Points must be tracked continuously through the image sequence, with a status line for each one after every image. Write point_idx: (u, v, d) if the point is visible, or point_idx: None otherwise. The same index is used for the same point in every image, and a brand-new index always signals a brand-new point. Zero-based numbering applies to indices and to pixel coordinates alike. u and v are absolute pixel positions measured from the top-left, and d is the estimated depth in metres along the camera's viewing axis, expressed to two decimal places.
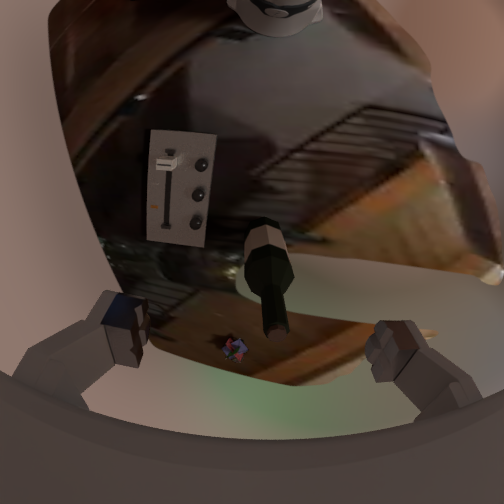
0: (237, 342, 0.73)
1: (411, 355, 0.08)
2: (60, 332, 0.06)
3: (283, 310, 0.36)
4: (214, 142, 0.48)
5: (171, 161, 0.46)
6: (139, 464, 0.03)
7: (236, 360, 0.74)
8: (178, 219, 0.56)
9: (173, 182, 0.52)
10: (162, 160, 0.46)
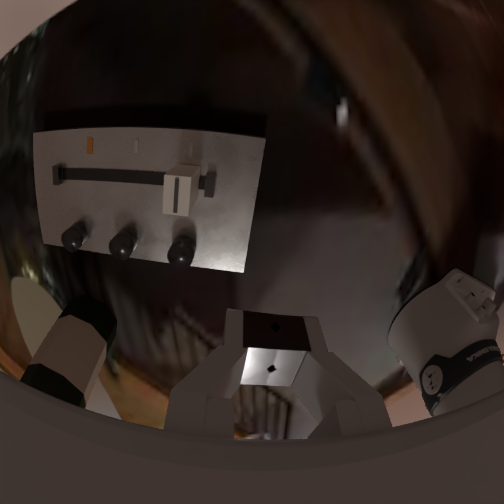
0: None
1: (301, 358, 0.07)
2: (203, 363, 0.06)
3: None
4: (228, 268, 0.27)
5: (185, 213, 0.20)
6: (139, 464, 0.03)
7: None
8: (74, 198, 0.23)
9: (141, 188, 0.23)
10: (187, 192, 0.19)
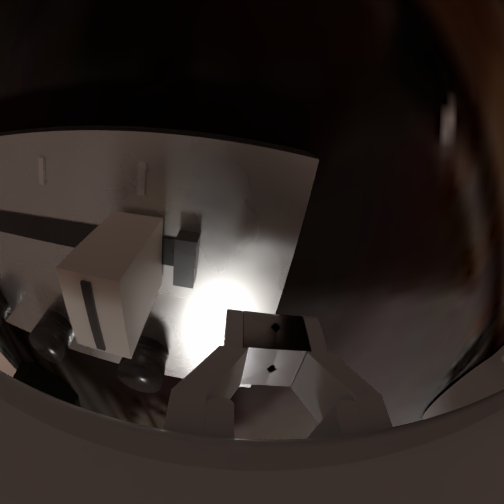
0: None
1: (301, 358, 0.07)
2: (203, 363, 0.06)
3: None
4: None
5: (123, 352, 0.07)
6: (139, 464, 0.03)
7: None
8: None
9: (61, 252, 0.11)
10: (117, 315, 0.07)
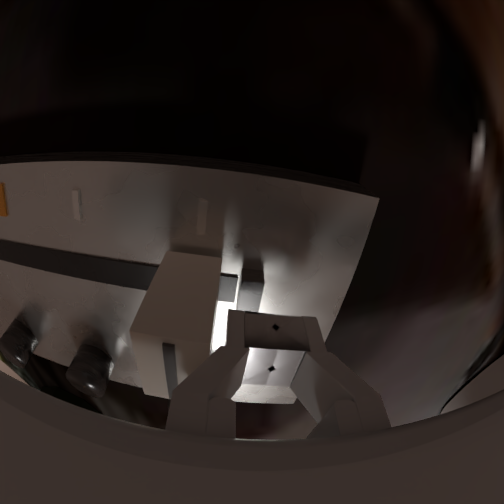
0: None
1: (300, 358, 0.07)
2: (205, 363, 0.06)
3: None
4: (269, 401, 0.15)
5: None
6: (139, 464, 0.03)
7: None
8: (3, 286, 0.11)
9: (102, 289, 0.11)
10: None
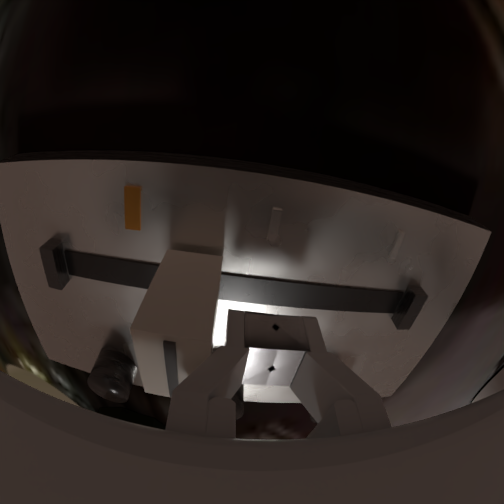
0: None
1: (300, 358, 0.07)
2: (205, 363, 0.06)
3: None
4: None
5: None
6: (139, 464, 0.03)
7: None
8: (101, 312, 0.11)
9: (272, 312, 0.11)
10: None
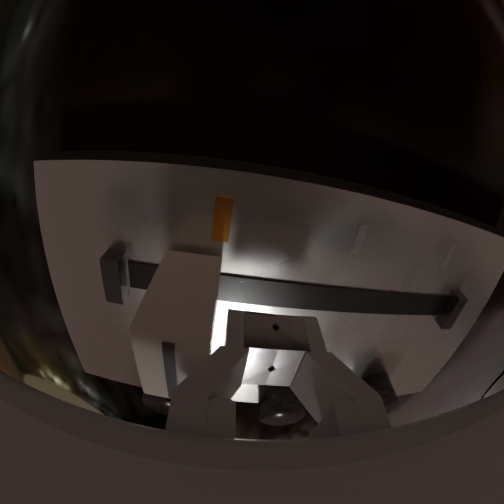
0: None
1: (300, 358, 0.07)
2: (204, 363, 0.06)
3: None
4: (409, 392, 0.16)
5: None
6: (139, 464, 0.03)
7: None
8: None
9: (342, 318, 0.12)
10: None
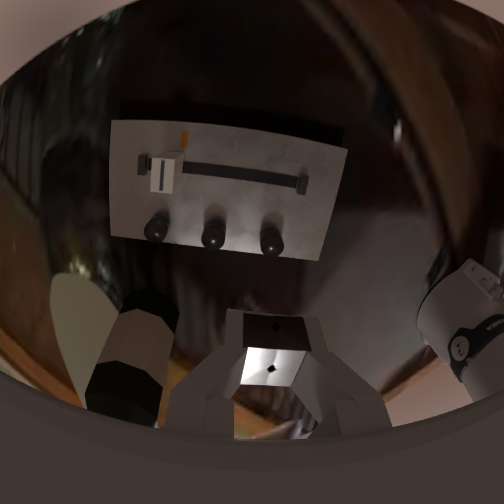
0: None
1: (301, 358, 0.07)
2: (203, 363, 0.06)
3: None
4: (305, 257, 0.31)
5: (169, 191, 0.22)
6: (139, 464, 0.03)
7: None
8: None
9: (237, 183, 0.27)
10: (171, 172, 0.22)
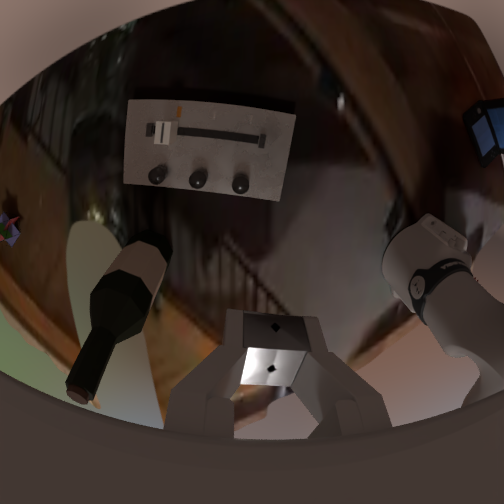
0: (15, 231, 0.40)
1: (301, 358, 0.07)
2: (203, 363, 0.06)
3: (100, 380, 0.23)
4: (269, 198, 0.40)
5: (167, 143, 0.32)
6: (139, 464, 0.03)
7: None
8: (161, 147, 0.36)
9: (215, 141, 0.36)
10: (168, 130, 0.31)
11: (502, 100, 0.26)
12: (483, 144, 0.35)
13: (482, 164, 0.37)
